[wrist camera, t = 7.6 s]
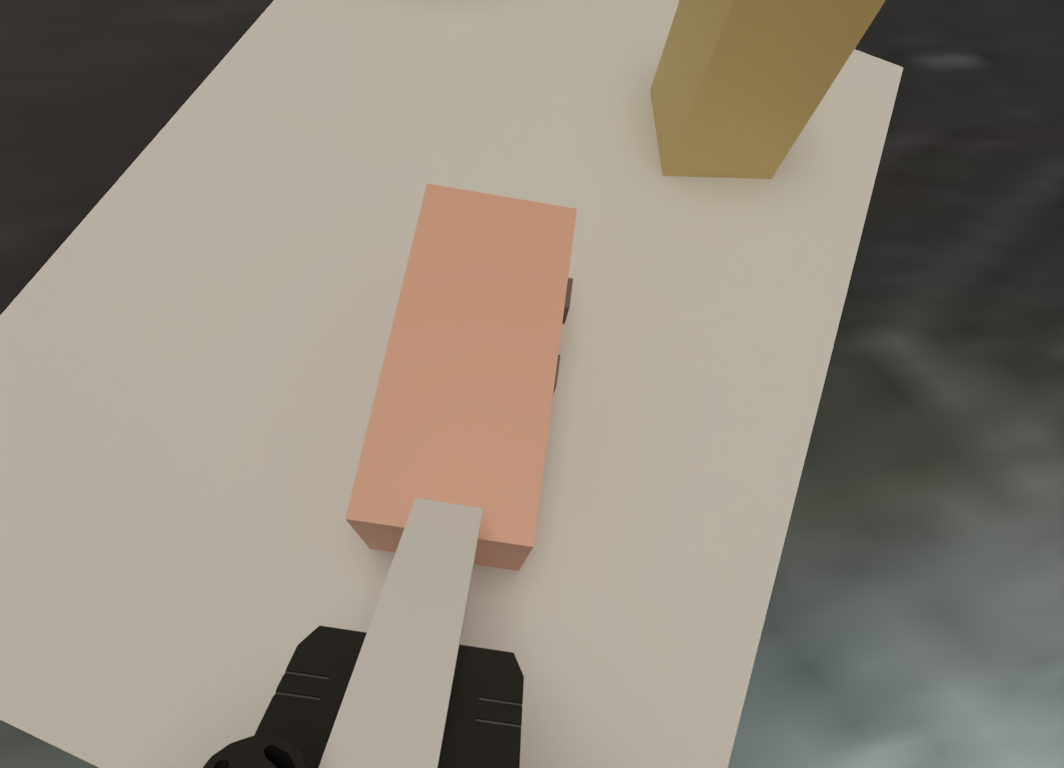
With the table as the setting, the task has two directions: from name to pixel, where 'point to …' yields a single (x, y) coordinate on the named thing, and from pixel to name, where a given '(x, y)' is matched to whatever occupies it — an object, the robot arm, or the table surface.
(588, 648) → the mat
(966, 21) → the table surface
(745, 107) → the domino block
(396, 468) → the domino block
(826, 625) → the table surface
